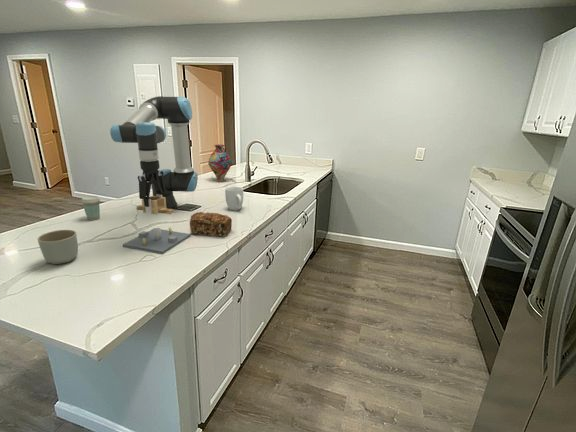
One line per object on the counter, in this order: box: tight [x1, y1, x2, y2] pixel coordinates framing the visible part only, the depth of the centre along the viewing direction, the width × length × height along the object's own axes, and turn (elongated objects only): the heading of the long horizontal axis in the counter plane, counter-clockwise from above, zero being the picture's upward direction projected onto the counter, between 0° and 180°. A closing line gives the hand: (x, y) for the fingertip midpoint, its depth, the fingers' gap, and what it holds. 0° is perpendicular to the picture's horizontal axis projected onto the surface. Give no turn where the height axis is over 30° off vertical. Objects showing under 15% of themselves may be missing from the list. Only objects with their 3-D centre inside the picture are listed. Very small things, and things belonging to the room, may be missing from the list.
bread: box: [189, 211, 233, 237], centre depth 159 cm, size 19×11×10 cm, turn 81°
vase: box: [207, 144, 233, 183], centre depth 262 cm, size 19×19×30 cm
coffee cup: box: [81, 195, 101, 221], centre depth 172 cm, size 8×8×12 cm
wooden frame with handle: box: [135, 195, 175, 215], centre depth 142 cm, size 18×7×6 cm, turn 73°
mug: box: [224, 186, 244, 211], centre depth 194 cm, size 15×11×13 cm
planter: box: [37, 229, 79, 265], centre depth 126 cm, size 12×12×11 cm
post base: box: [122, 227, 192, 255], centre depth 147 cm, size 21×21×6 cm
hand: (155, 210), depth 143 cm, fingers closed on wooden frame with handle, 7 cm apart
